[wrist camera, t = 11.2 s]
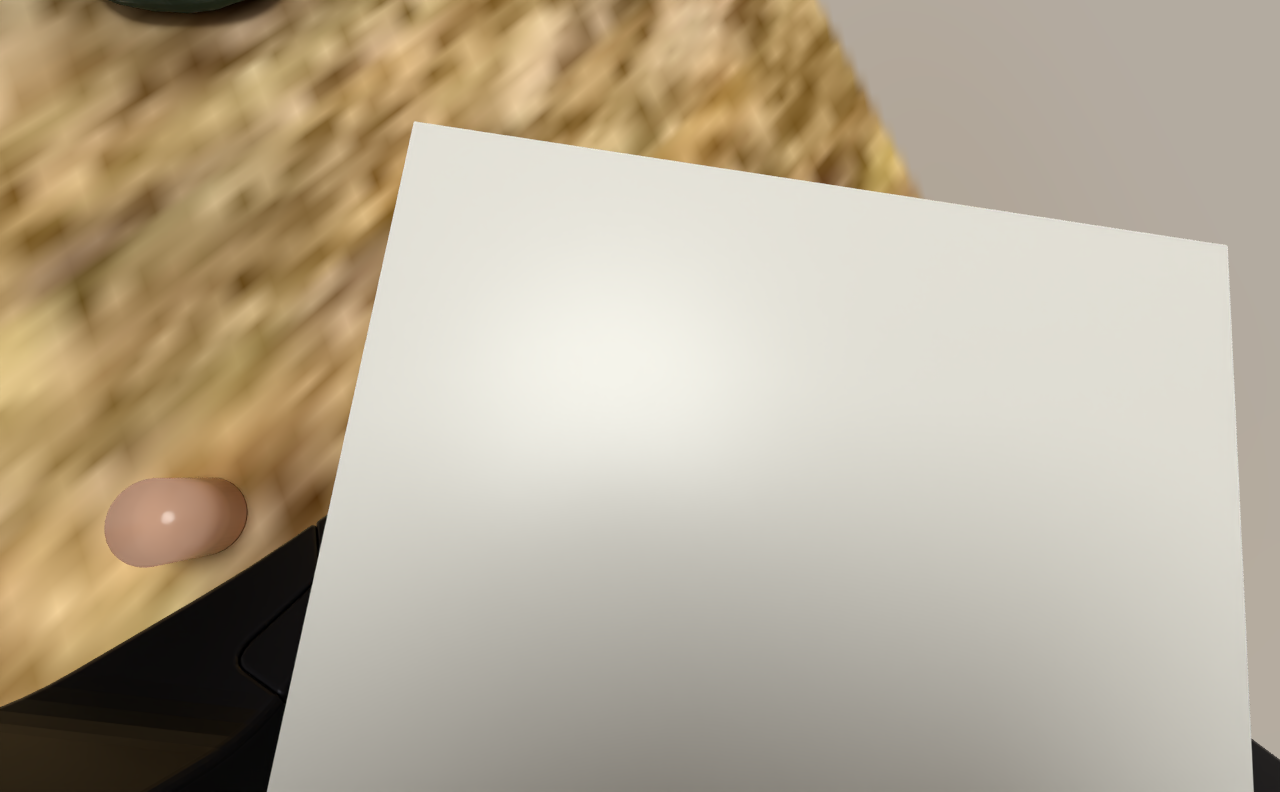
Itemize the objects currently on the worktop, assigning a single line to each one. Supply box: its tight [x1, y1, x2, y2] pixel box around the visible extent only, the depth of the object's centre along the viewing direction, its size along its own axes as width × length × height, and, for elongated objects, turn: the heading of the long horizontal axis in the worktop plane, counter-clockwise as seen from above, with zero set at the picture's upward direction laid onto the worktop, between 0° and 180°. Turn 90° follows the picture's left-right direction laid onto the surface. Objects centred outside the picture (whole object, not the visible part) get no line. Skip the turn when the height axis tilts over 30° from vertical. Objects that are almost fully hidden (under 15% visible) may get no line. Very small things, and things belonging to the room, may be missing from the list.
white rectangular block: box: [267, 122, 1254, 792], centre depth 9 cm, size 6×6×12 cm
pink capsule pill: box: [105, 478, 247, 567], centre depth 15 cm, size 2×2×2 cm
